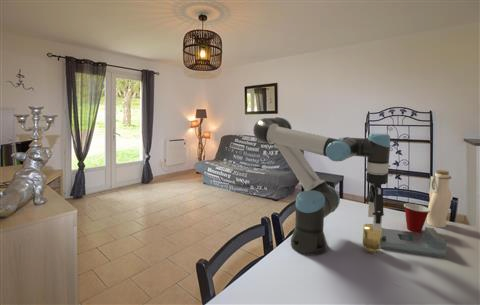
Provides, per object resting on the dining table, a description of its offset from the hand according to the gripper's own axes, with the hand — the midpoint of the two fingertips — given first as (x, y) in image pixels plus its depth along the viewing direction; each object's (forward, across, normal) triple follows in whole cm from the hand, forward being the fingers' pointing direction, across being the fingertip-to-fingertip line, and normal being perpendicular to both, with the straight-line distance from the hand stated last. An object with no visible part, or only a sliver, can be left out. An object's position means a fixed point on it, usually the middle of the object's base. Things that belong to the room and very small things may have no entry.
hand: (373, 223), depth 104 cm
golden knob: (+12, 0, 0) cm, 12 cm away
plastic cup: (+13, +28, -23) cm, 38 cm away
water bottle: (+13, +38, -35) cm, 53 cm away
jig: (+12, +11, -15) cm, 22 cm away
